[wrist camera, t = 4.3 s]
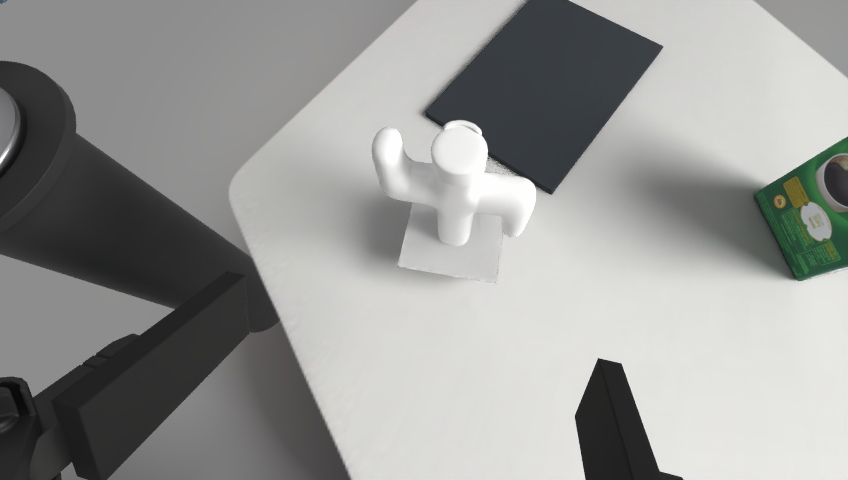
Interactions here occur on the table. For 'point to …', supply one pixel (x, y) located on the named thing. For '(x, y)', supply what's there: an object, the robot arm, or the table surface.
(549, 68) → the mat
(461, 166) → the figurine
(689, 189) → the table surface
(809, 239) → the coffee box
